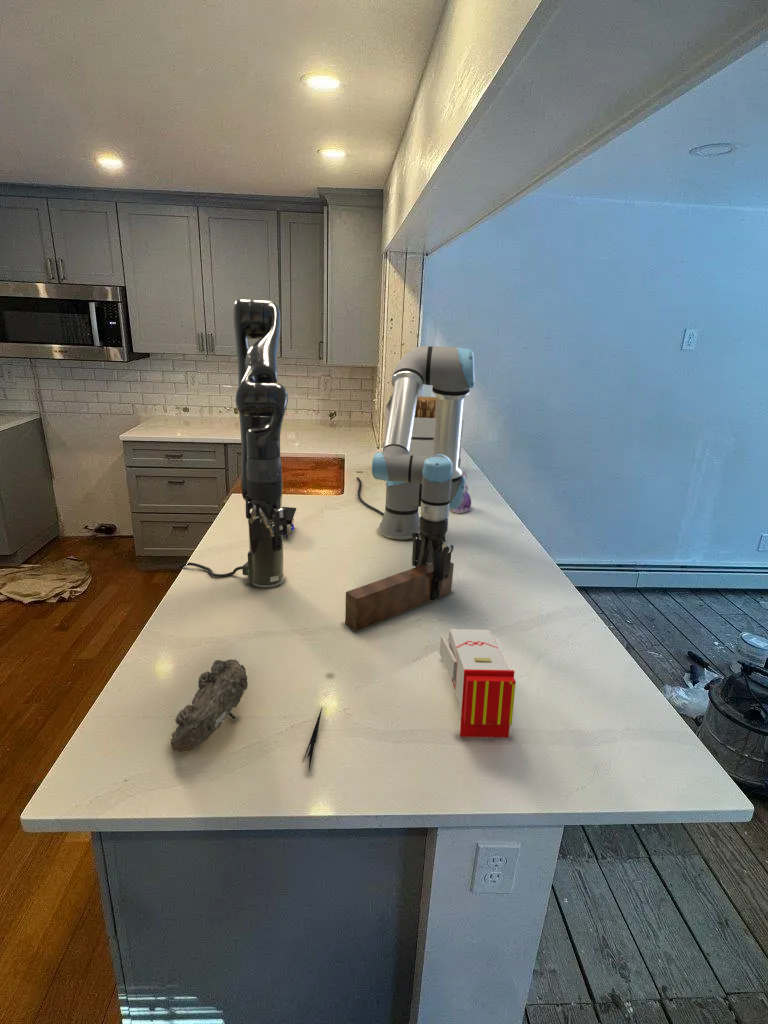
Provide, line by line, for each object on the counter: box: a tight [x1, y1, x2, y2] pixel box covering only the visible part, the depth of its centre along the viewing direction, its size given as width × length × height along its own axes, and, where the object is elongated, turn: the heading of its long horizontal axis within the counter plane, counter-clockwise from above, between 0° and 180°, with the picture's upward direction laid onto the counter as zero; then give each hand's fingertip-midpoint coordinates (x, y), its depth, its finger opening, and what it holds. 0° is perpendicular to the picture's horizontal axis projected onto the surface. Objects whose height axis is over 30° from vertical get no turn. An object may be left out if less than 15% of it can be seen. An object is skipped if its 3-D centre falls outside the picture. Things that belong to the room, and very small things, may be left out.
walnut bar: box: [344, 561, 455, 632], centre depth 149 cm, size 34×4×9 cm, turn 131°
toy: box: [438, 628, 517, 738], centre depth 117 cm, size 12×13×30 cm
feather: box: [301, 673, 332, 771], centre depth 108 cm, size 2×28×2 cm
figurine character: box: [282, 506, 297, 540], centre depth 194 cm, size 7×8×15 cm
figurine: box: [450, 472, 472, 514], centre depth 224 cm, size 9×10×15 cm
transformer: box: [382, 393, 464, 470], centre depth 268 cm, size 34×33×41 cm
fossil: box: [170, 658, 249, 753], centre depth 106 cm, size 22×10×15 cm
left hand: (266, 544), depth 129 cm, fingers open, 8 cm apart
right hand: (427, 595), depth 157 cm, fingers closed on walnut bar, 4 cm apart
